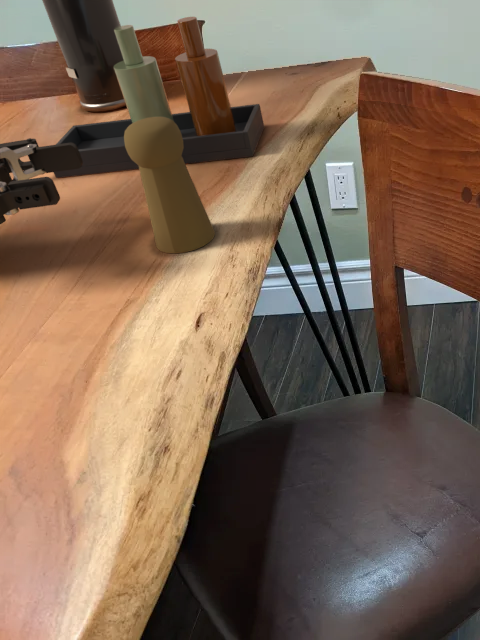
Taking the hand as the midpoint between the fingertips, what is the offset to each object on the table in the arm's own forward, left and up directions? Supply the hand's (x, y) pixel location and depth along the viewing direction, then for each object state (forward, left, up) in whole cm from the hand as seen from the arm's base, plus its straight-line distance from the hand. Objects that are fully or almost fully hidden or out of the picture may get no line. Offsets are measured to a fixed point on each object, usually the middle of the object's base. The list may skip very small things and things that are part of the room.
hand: (67, 171), depth 64 cm
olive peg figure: (-2, +9, -8) cm, 12 cm away
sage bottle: (-27, -2, -7) cm, 28 cm away
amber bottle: (-27, +5, -7) cm, 29 cm away
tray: (-27, -2, -8) cm, 28 cm away
